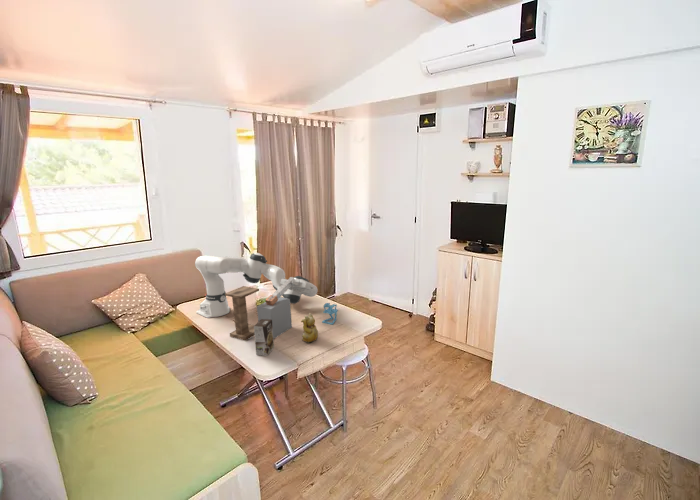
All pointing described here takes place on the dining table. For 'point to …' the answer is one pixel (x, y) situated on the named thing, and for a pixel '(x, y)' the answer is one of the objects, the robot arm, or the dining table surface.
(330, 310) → the blue strut sculpture
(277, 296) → the light slender bar
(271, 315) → the block
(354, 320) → the dining table surface
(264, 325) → the coffee box
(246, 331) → the walnut shelf
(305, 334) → the decorative figurine
